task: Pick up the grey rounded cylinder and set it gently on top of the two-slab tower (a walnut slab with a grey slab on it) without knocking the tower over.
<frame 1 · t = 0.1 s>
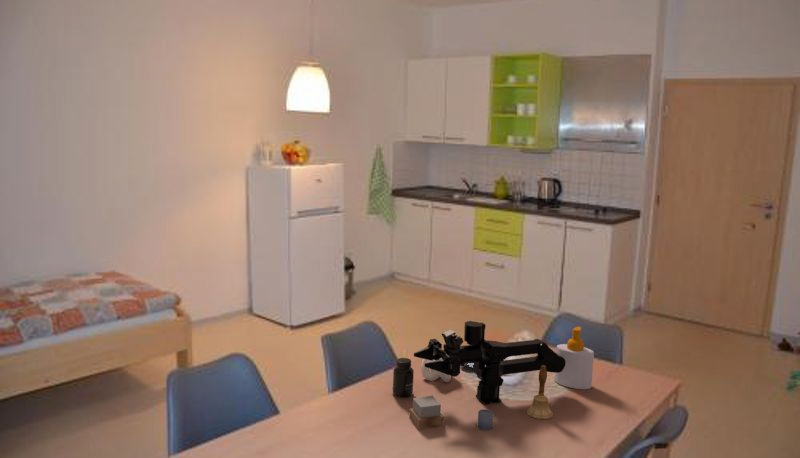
hand: (419, 359, 201), 17 cm above the table, tool horizontal, fingers open, 9 cm apart
supplement bottle: (402, 394, 215), on the table
soap bottle: (572, 384, 227), on the table
hand bell: (539, 414, 203), on the table
grey rounded cylinder: (485, 426, 193), on the table
walnut slab: (426, 423, 195), on the table, touching grey slab
white knot sculpture: (436, 379, 229), on the table
grey slab: (426, 412, 195), point 3 cm above the table, touching walnut slab
seashell: (472, 367, 241), on the table
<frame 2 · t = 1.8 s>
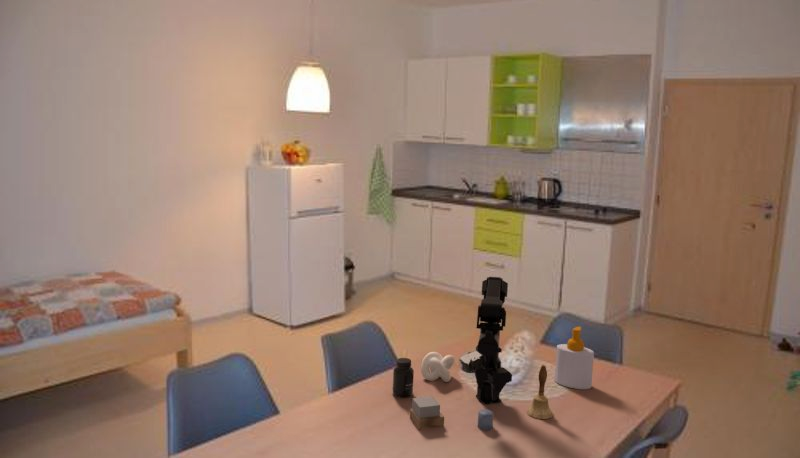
hand: (486, 393, 192), 11 cm above the table, tool pointing down, fingers open, 9 cm apart
nothing on the table moved.
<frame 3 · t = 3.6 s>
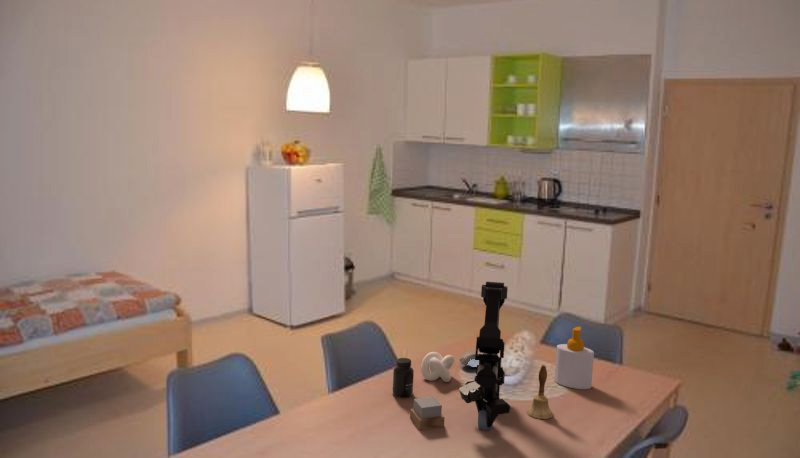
hand: (485, 423, 193), 1 cm above the table, tool pointing down, fingers closed on grey rounded cylinder, 4 cm apart
grey rounded cylinder: (485, 426, 193), on the table, touching gripper
everything else where it was.
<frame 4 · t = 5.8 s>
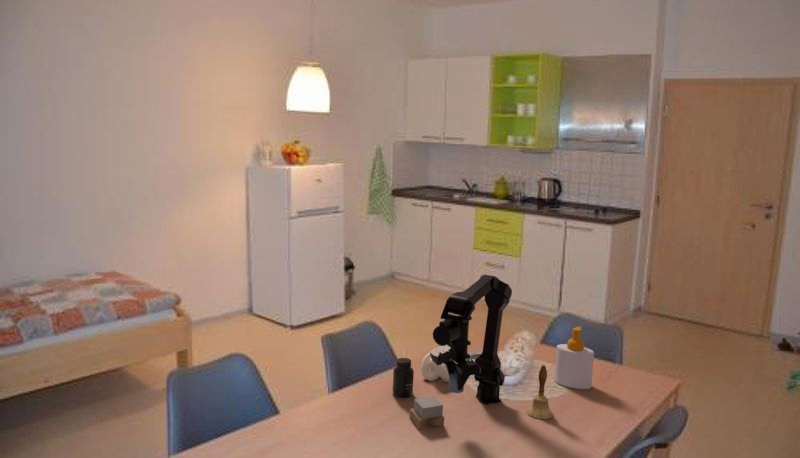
hand: (456, 386, 192), 12 cm above the table, tool pointing down, fingers closed on grey rounded cylinder, 4 cm apart
grey rounded cylinder: (456, 389, 192), point 11 cm above the table, touching gripper
everything else where it was.
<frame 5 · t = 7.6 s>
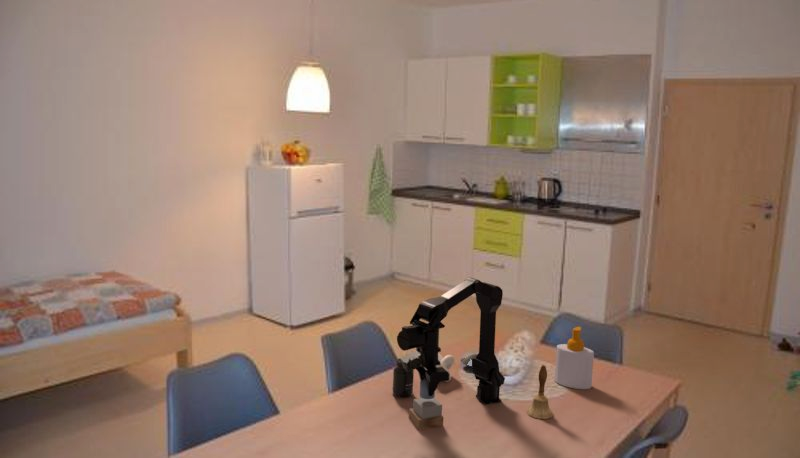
hand: (427, 392, 194), 9 cm above the table, tool pointing down, fingers closed on grey rounded cylinder, 4 cm apart
grey rounded cylinder: (427, 395, 194), point 8 cm above the table, touching gripper
walnut slab: (425, 423, 195), on the table
grey slab: (427, 412, 195), point 3 cm above the table
everything else where it was.
when the fingers open (9 cm above the table, at t = 7.9 s): grey rounded cylinder drops 2 cm, point 7 cm above the table.
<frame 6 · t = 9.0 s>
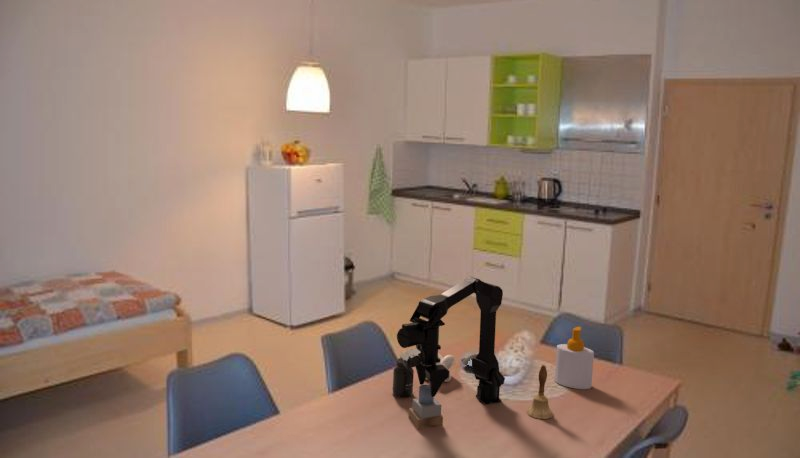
hand: (427, 390, 194), 10 cm above the table, tool pointing down, fingers open, 9 cm apart
grey rounded cylinder: (426, 401, 194), point 7 cm above the table
walnut slab: (425, 422, 196), on the table, touching grey slab
grey slab: (426, 412, 195), point 3 cm above the table, touching walnut slab
everything else where it was.
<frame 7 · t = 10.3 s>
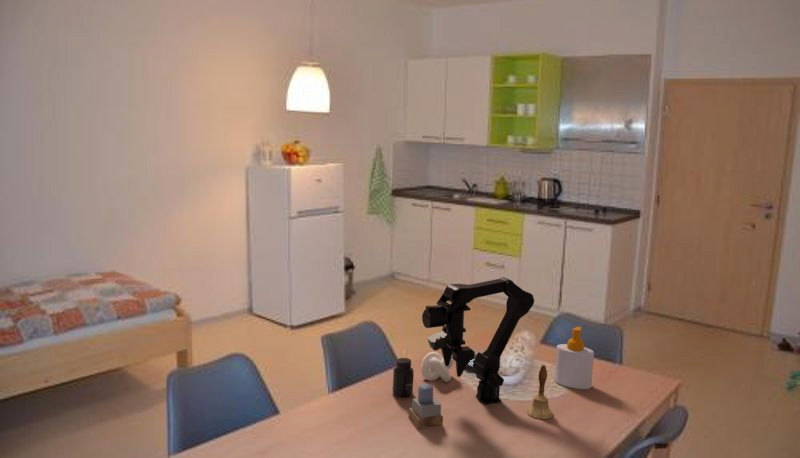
hand: (452, 371, 205), 12 cm above the table, tool pointing down, fingers open, 9 cm apart
walnut slab: (425, 422, 196), on the table
grey slab: (426, 412, 195), point 3 cm above the table
everything else where it was.
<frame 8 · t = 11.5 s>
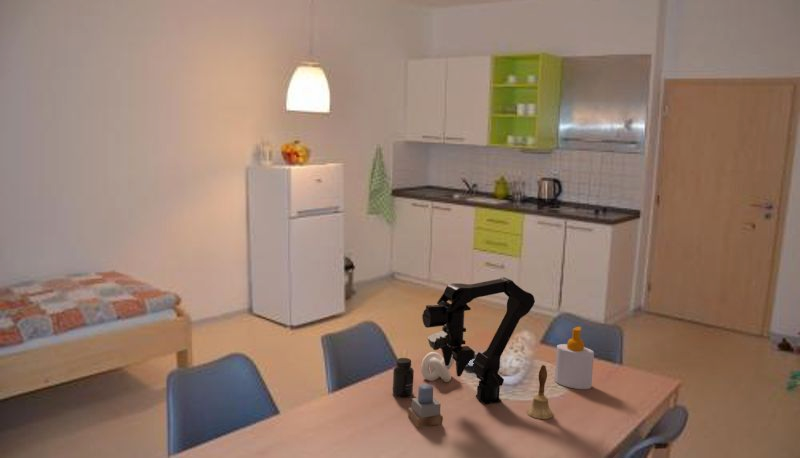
hand: (452, 370, 205), 12 cm above the table, tool pointing down, fingers open, 9 cm apart
grey rounded cylinder: (425, 401, 195), point 7 cm above the table, touching grey slab
walnut slab: (425, 422, 196), on the table, touching grey slab
grey slab: (425, 412, 195), point 3 cm above the table, touching grey rounded cylinder, walnut slab
at the end: grey rounded cylinder 0.2 cm off-centre on the grey slab, point 3.5 cm above the grey slab's base; grey slab tilted 0°; walnut slab moved 0.7 cm from its start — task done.
